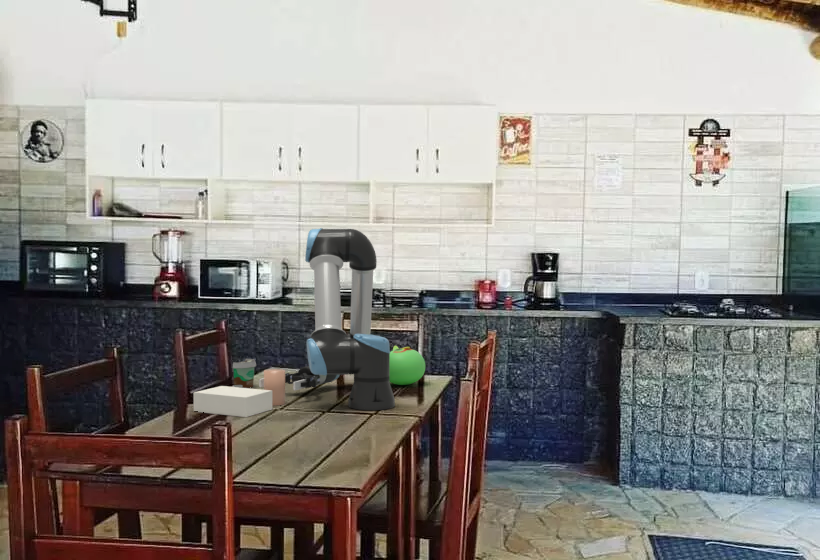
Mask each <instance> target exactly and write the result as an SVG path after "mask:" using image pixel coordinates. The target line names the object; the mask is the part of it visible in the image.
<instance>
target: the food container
mask: <svg viewBox="0 0 820 560" xmlns="http://www.w3.org/2000/svg"><path fill="white" fill-rule="evenodd" d="M256 367H257V363H256V360H255V359H254V358H253V359H252V358H245V360H244V361H239V362H234V361H233V362H232V369H233V370H232V371H233V387H239V388H250V387H253V388H254V380H255V368H256ZM250 389H251V388H250Z"/></svg>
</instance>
